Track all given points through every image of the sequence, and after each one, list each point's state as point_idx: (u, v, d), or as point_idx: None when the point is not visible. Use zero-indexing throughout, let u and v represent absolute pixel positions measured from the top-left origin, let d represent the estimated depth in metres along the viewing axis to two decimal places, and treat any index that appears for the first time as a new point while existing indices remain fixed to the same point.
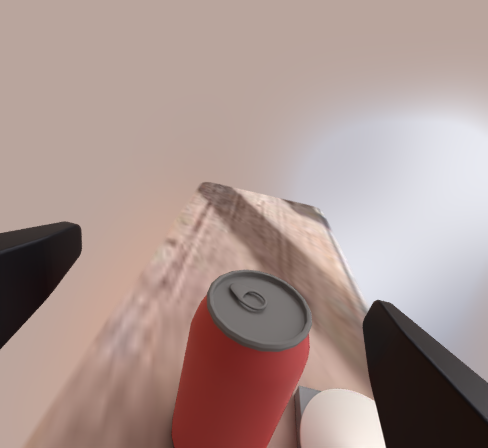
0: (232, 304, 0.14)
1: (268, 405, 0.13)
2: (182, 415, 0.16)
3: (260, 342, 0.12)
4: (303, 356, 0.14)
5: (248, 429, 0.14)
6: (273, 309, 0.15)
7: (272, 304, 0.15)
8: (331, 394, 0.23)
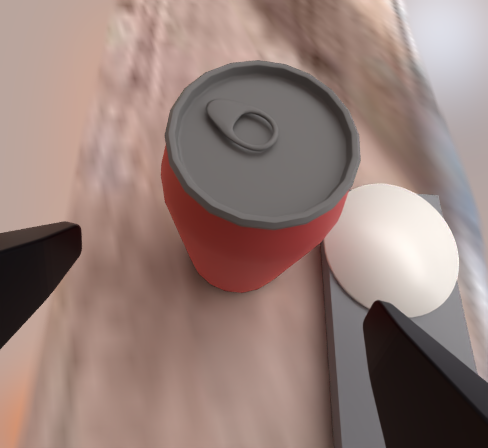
0: (216, 147, 0.08)
1: (290, 263, 0.10)
2: (191, 258, 0.14)
3: (271, 220, 0.07)
4: (341, 207, 0.09)
5: (267, 276, 0.12)
6: (291, 141, 0.08)
7: (287, 130, 0.08)
8: (361, 192, 0.20)
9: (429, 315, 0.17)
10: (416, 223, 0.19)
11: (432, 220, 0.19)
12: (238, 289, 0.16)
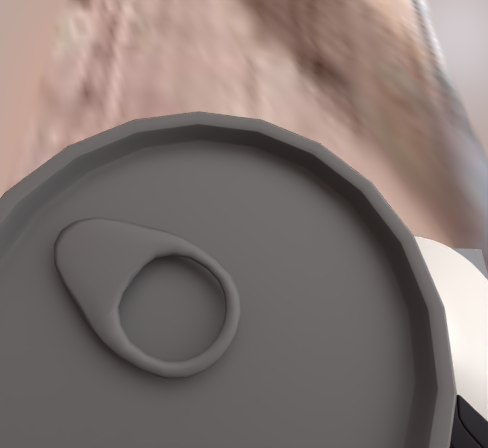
0: (73, 358, 0.03)
1: None
2: None
3: None
4: None
5: None
6: (274, 323, 0.03)
7: (265, 293, 0.03)
8: None
9: None
10: (455, 292, 0.14)
11: (476, 287, 0.14)
12: None
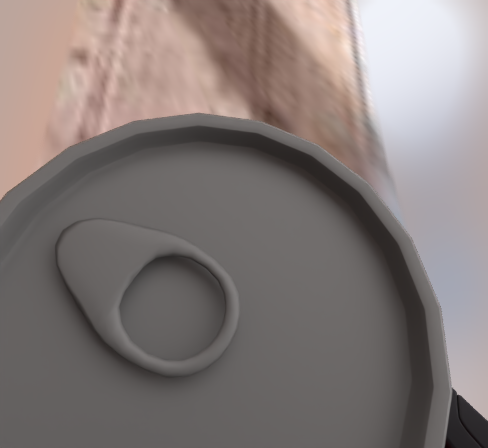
0: (74, 358, 0.03)
1: None
2: None
3: None
4: None
5: None
6: (273, 323, 0.03)
7: (264, 292, 0.03)
8: None
9: None
10: None
11: None
12: None
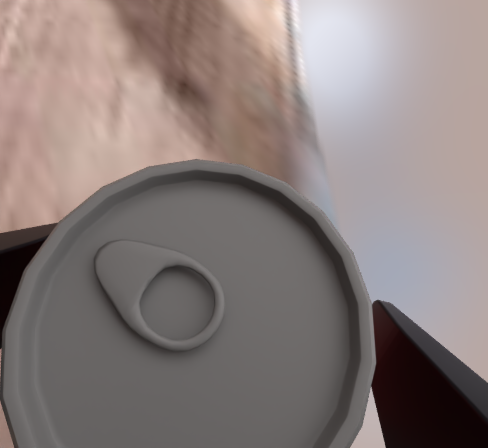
0: (108, 339, 0.04)
1: None
2: None
3: None
4: None
5: None
6: (250, 315, 0.05)
7: (244, 293, 0.05)
8: None
9: None
10: None
11: None
12: None
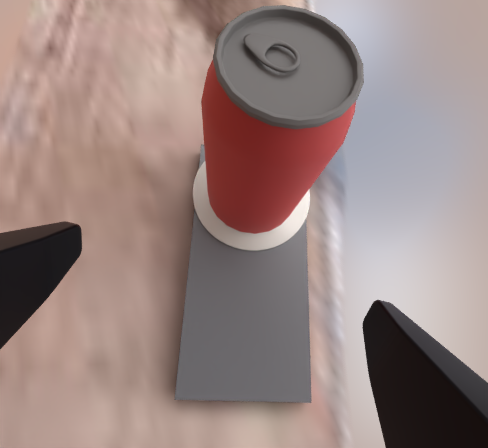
0: (251, 69, 0.10)
1: (303, 179, 0.13)
2: (215, 192, 0.16)
3: (295, 118, 0.09)
4: (347, 125, 0.11)
5: (282, 199, 0.14)
6: (309, 67, 0.11)
7: (306, 60, 0.11)
8: None
9: (276, 250, 0.21)
10: None
11: None
12: (253, 226, 0.18)
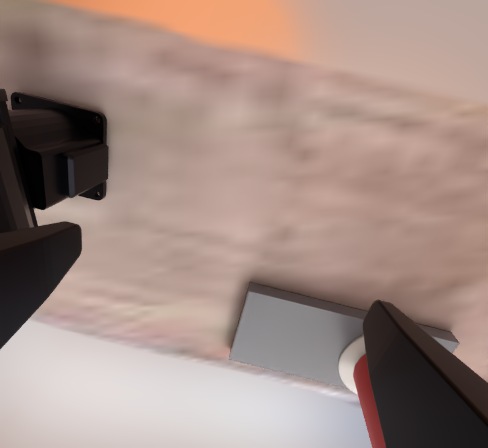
0: None
1: None
2: None
3: None
4: None
5: None
6: None
7: None
8: None
9: (335, 368, 0.26)
10: None
11: None
12: (361, 381, 0.23)
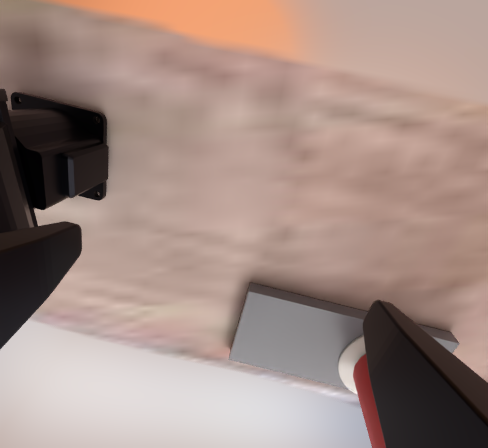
0: None
1: None
2: None
3: None
4: None
5: None
6: None
7: None
8: None
9: (335, 368, 0.26)
10: None
11: None
12: (360, 382, 0.23)
